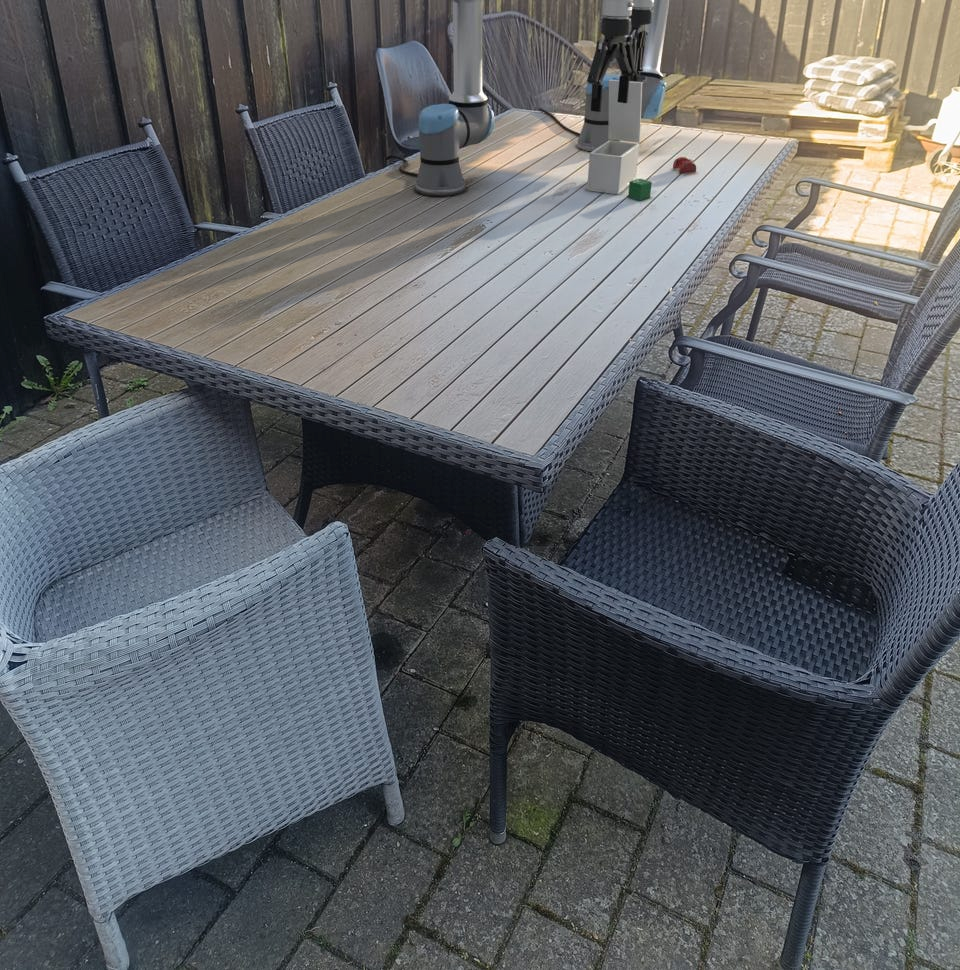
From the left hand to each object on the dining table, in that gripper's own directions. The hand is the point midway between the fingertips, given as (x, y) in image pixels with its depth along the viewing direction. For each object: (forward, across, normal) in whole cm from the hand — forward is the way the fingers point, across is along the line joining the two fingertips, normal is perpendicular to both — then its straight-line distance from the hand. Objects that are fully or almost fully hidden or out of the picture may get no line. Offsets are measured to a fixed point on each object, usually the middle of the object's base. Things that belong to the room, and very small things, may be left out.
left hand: (609, 107), depth 226 cm
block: (+28, +18, -2) cm, 33 cm away
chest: (+28, +23, +11) cm, 38 cm away
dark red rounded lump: (+28, +51, 0) cm, 58 cm away
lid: (+8, +29, +12) cm, 33 cm away
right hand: (+4, +35, +13) cm, 38 cm away
